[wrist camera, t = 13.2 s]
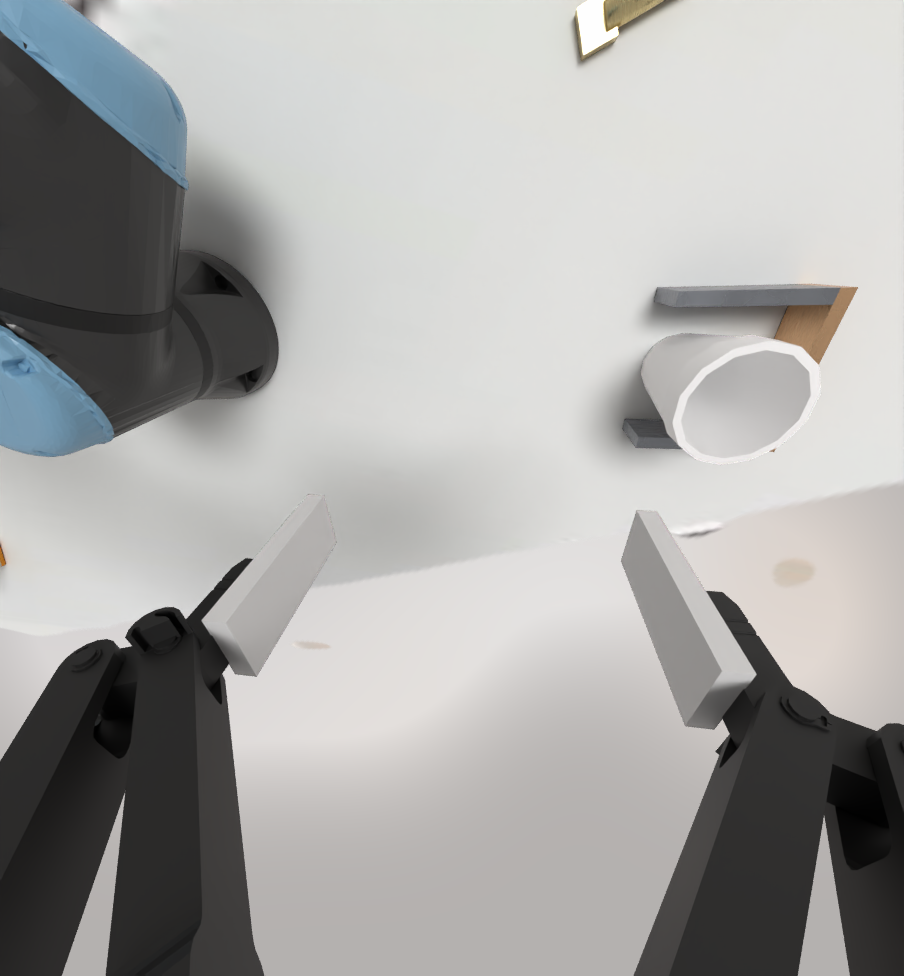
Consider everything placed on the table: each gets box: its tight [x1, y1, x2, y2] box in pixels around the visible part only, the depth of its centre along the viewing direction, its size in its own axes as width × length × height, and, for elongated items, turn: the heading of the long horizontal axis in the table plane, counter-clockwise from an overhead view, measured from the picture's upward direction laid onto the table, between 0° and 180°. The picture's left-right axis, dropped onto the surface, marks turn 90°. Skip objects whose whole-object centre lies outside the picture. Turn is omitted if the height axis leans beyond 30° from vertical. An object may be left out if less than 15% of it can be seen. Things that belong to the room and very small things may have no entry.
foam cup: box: [641, 333, 821, 465], centre depth 32 cm, size 10×9×13 cm
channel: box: [623, 284, 858, 452], centre depth 35 cm, size 13×14×5 cm
